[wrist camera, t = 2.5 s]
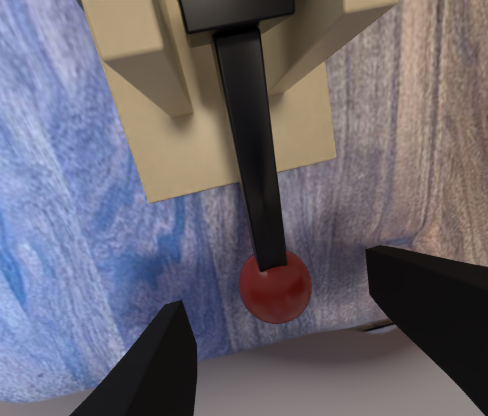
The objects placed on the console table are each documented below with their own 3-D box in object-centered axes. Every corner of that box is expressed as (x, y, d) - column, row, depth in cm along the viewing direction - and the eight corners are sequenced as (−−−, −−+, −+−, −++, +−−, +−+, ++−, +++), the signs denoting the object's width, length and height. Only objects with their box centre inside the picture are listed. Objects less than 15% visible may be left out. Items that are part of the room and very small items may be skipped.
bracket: (325, 157, 13) (496, 168, 5) (154, 198, 12) (56, 282, 4) (290, -113, 10) (561, -1016, 2) (63, -78, 9) (-664, -1201, 2)
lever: (297, 274, 12) (325, 327, 10) (240, 290, 12) (253, 349, 9) (262, -110, 6) (318, -266, 3) (136, -91, 6) (85, -242, 3)
